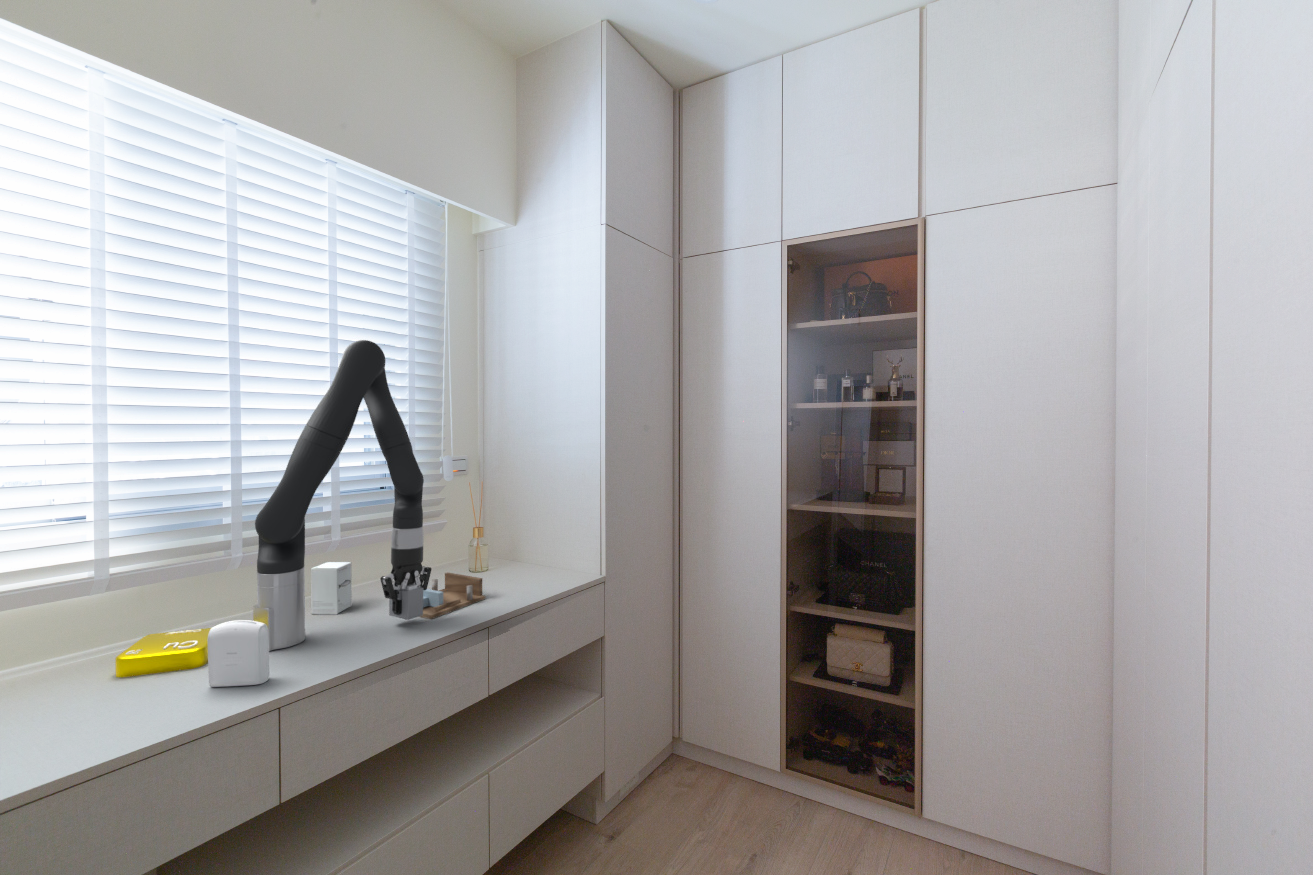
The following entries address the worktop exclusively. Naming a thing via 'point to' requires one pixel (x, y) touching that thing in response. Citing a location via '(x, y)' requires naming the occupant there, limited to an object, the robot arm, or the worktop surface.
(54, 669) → the worktop surface
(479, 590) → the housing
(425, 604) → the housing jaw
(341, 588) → the supplement box
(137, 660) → the element tile
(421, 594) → the block
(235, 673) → the photo printer
